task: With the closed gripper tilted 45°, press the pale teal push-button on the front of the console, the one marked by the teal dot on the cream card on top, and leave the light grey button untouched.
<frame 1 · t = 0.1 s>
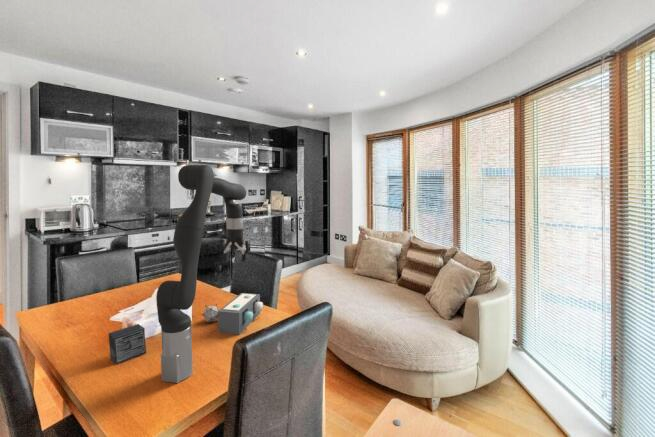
hand: (235, 261, 151), 29 cm above the table, tool pointing down, fingers open, 8 cm apart
teal button: (248, 316, 144), point 6 cm above the table, slide at 0.0 cm
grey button: (258, 306, 156), point 6 cm above the table, slide at 0.0 cm
console: (240, 322, 152), on the table
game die: (211, 322, 152), on the table
small box: (128, 356, 121), on the table
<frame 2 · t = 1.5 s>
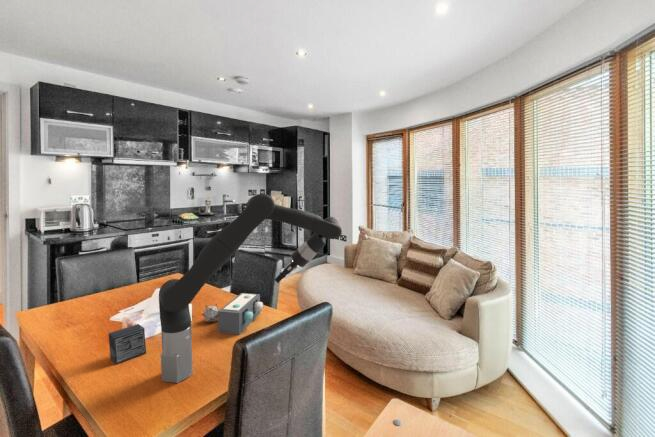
hand: (279, 278, 140), 25 cm above the table, tool tilted 45°, fingers open, 7 cm apart
nothing on the table moved.
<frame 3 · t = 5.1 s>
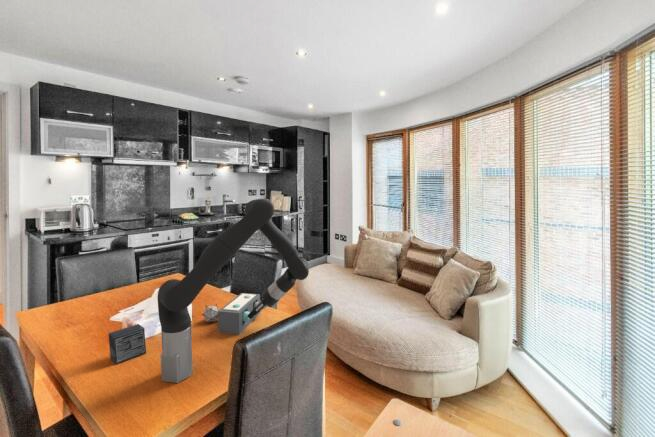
hand: (249, 316, 144), 6 cm above the table, tool tilted 45°, fingers closed
teal button: (245, 316, 144), point 6 cm above the table, slide at 1.5 cm, touching gripper
everything else where it was.
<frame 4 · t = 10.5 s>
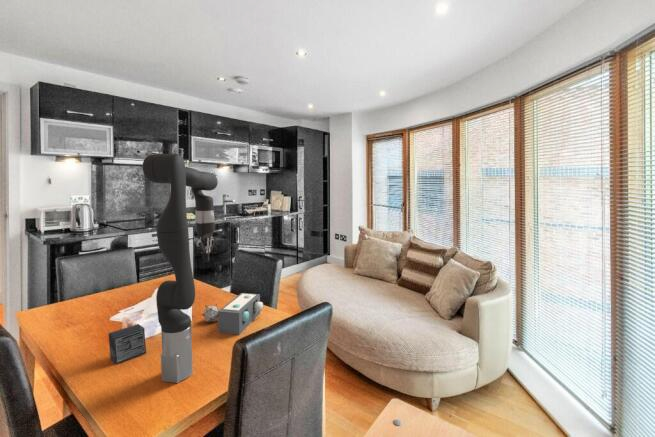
hand: (206, 261, 135), 33 cm above the table, tool pointing down, fingers closed
teal button: (243, 316, 144), point 6 cm above the table, slide at 2.1 cm
everything else where it was.
at the end: teal button slide at 2.1 cm; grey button slide at 0.0 cm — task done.
